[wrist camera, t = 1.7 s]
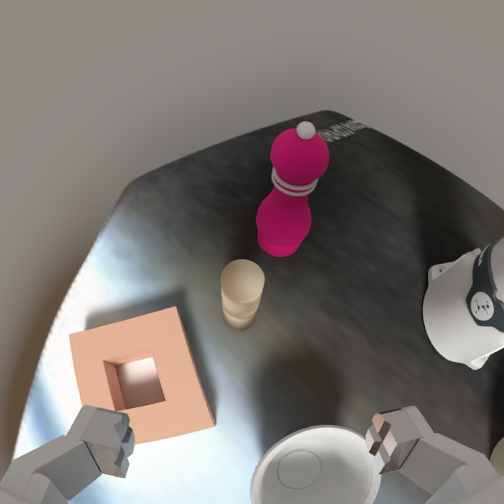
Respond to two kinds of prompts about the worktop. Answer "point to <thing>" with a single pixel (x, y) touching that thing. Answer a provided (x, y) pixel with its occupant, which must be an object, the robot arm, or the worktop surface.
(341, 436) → the teacup
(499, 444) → the reusable coffee cup
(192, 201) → the worktop surface
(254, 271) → the maple pin
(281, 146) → the pepper mill
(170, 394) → the socket block
